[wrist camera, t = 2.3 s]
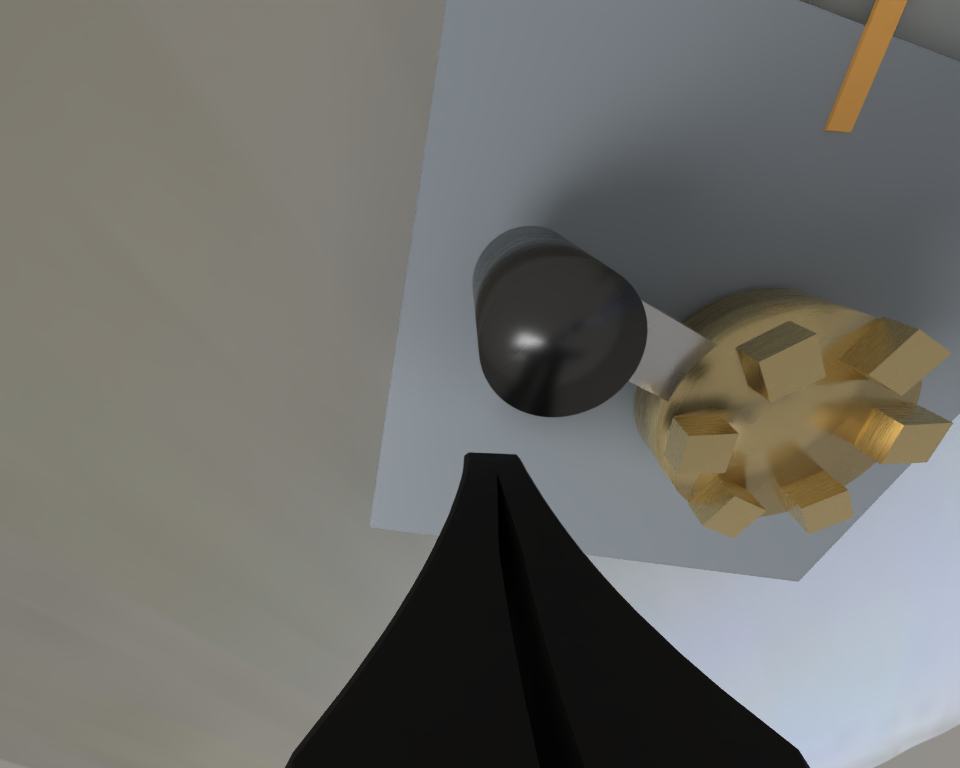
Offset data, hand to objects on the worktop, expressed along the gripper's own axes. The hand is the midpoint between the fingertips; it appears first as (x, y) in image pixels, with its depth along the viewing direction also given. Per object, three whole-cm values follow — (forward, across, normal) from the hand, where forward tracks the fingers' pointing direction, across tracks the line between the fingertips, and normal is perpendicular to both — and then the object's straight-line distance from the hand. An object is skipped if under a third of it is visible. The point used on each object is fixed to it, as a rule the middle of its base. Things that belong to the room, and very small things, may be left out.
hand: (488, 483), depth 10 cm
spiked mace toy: (+3, -5, -3) cm, 6 cm away
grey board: (+4, -7, -2) cm, 8 cm away
